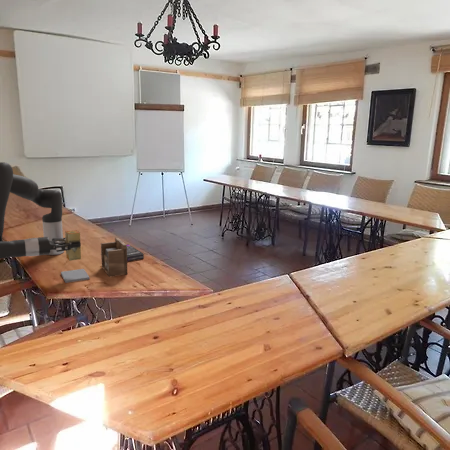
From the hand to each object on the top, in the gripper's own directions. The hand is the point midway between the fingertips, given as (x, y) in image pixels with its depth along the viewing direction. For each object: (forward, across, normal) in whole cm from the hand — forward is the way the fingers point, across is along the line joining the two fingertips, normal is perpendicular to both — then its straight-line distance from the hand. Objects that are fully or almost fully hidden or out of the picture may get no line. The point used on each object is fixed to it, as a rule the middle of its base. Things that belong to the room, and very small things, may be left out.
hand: (79, 242), depth 176 cm
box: (+26, +20, +16) cm, 36 cm away
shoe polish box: (-3, 0, +7) cm, 8 cm away
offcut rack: (+15, 0, +15) cm, 22 cm away
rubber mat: (-2, 0, +16) cm, 16 cm away
